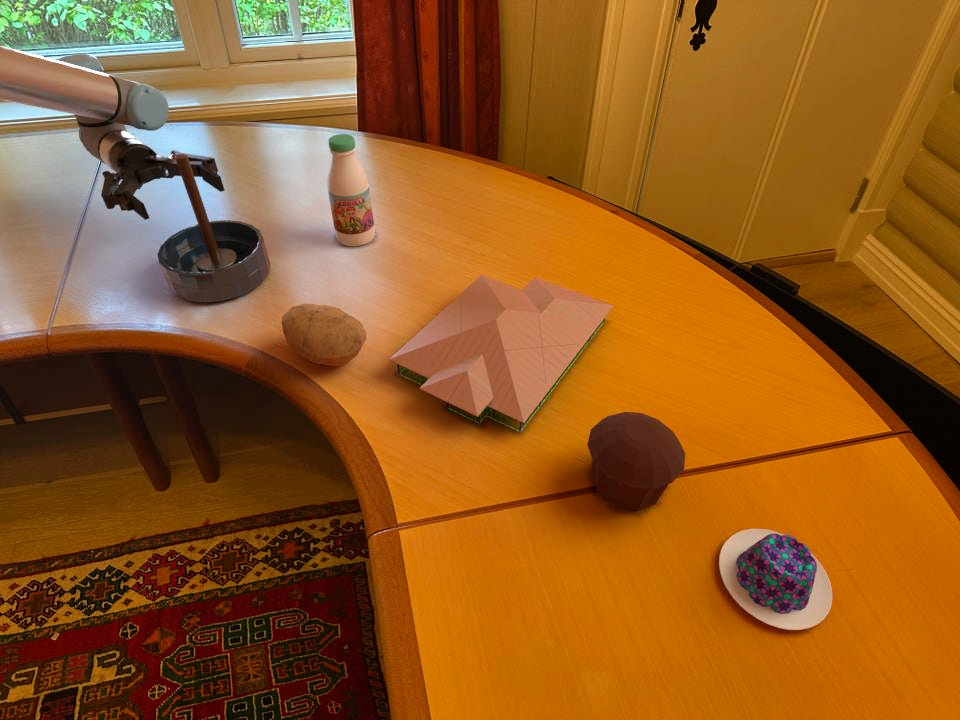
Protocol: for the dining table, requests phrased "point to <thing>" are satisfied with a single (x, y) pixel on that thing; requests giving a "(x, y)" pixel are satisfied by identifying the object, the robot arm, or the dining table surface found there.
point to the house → (502, 346)
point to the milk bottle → (349, 194)
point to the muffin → (634, 459)
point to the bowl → (217, 284)
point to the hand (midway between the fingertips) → (183, 197)
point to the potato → (323, 333)
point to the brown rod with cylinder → (204, 224)
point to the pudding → (775, 579)
